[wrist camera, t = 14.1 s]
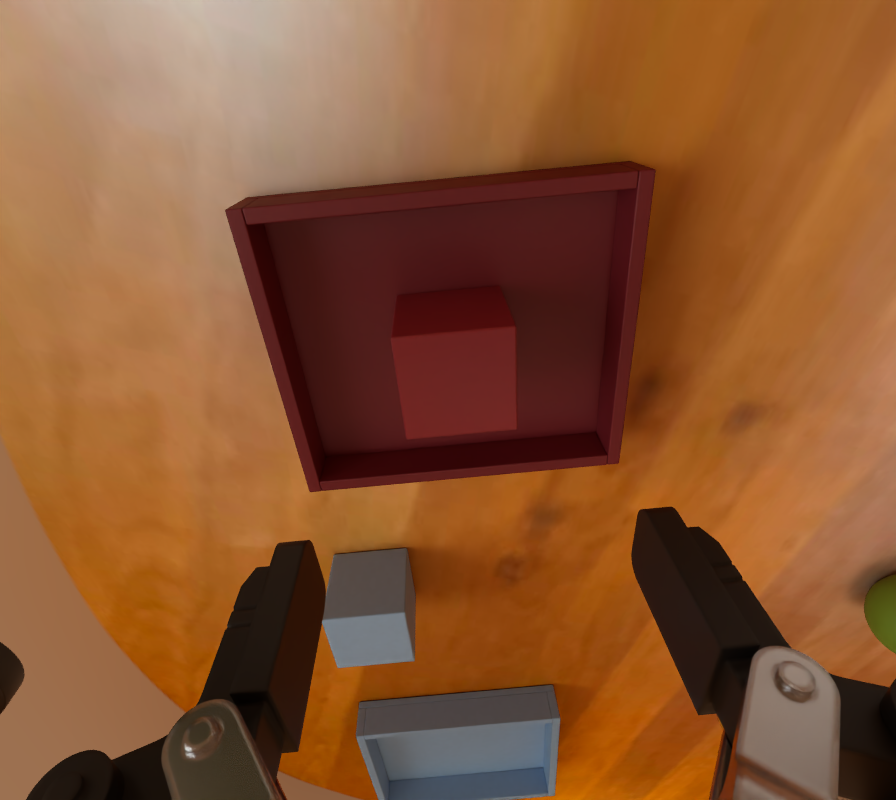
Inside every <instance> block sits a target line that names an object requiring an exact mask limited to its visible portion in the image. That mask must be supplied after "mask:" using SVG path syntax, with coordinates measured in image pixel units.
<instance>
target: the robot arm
mask: <svg viewBox="0 0 896 800" xmlns="http://www.w3.org/2000/svg"><path fill="white" fill-rule="evenodd" d="M632 565H633V570H634V573H635V576H636V579H637V581H638V583H639V586H640V588H641V590H642V592H643V594H644V597H645V599H646V601H647V603H648V605H649V608H650V610H651V612H652V614H653V616H654V619H655V621H656V623H657V625H658V627H659V630H660V632H661V634H662V636H663V638H664V641H665V643H666V645H667V647H668V649H669V652H670V654H671V656H672V658H673V660H674V663H675V665H676V667H677V669H678V671H679V674H680V676H681V678H682V680H683V682H684V685H685V687H686V689H687V691H688V693H689V696H690V698H691V700H692V702H693V704H694V707H695V709H696V711H697V713H698V715H705V714H716V713H717V715H718V718H719V720H720V722H721V724H722V726H723V728H724V730H723V733H722V736H721V741H720V746H719V751H718V756H717V761H716V766H715V771H714V776H713V781H712V786H711V791H710V796H709V800H838V796H839V797H843V798H847V799H850V800H896V679H895V680H894V682H893V683H892V685H891V686H890V688H889V687H885V686H880V685H875V684H870V683H866V682H861V681H856V680H852V679H847V678H842V677H839V676H835V675H832V674H830V673H828V672H827V671H826V670H825V669H824V668H823V667H822V666H821V665H820V664H819V663H817V662H816V661H815V660H813V659H812V658H810V657H809V656H807V655H805V654H803V653H801V652H799V651H797V650H794V649H792V648H791V647H790V646H789V645H788V643H787V642H786V641H785V639H784V638H783V636H782V635H781V633H780V632H779V630H778V629H777V628H776V626H775V625H774V623H773V622H772V620H771V619H770V617H769V616H768V614H767V613H766V611H765V610H764V608H763V607H762V605H761V604H760V602H759V601H758V600H757V598H756V597H755V595H754V594H753V592H752V591H751V589H750V588H749V586H748V585H747V583H746V582H745V581H743V580H742V576H741V574H740V573H739V572H738V570H737V569H736V567H735V566H734V565H732V561H731V560H730V558H729V557H728V555H727V554H726V552H725V551H724V549H723V548H722V546H721V545H720V543H719V542H718V541H716V540H715V539H714V538H713V537H711V536H710V535H709V534H708V533H706V532H705V531H704V530H703V529H701V528H700V527H689V528H687V526H686V525H685V523H684V522H683V520H682V518H681V517H680V515H679V514H678V512H677V511H676V510H675V508H673V507H662V508H652V509H641V510H639V512H638V515H637V521H636V528H635V534H634V540H633V546H632ZM325 601H326V590H325V582H324V578H323V575H322V572H321V569H320V566H319V562H318V559H317V556H316V553H315V550H314V546H313V544H312V542H311V541H310V540H304V541H294V542H283V543H278V544H277V546H276V548H275V551H274V554H273V557H272V560H271V563H270V566H268V567H257V568H256V569H255V570H254V571H253V573H252V574H251V575H250V576H249V577H248V579H247V580H246V581H245V582H244V584H243V585H242V586H241V588H240V591H239V594H238V597H237V599H236V602H235V605H234V611H233V612H232V613H231V616H230V619H229V621H228V624H227V626H228V627H227V629H226V630H225V632H224V635H223V638H222V641H221V643H220V646H219V649H218V652H217V654H216V657H215V660H214V662H213V665H212V668H211V671H210V673H209V676H208V679H207V682H206V684H205V687H204V690H203V693H202V695H201V697H200V700H199V702H198V703H197V705H196V706H195V707H194V708H192V709H191V710H189V711H188V712H187V713H185V714H184V715H183V716H182V717H181V718H180V719H179V720H178V721H177V723H176V724H175V725H174V726H173V728H172V729H171V731H170V732H169V734H168V735H166V736H165V737H163V738H161V739H159V740H157V741H155V742H153V743H151V744H148V745H146V746H144V747H141V748H139V749H136V750H134V751H132V752H129V753H127V754H125V755H122V756H120V757H118V758H116V759H113V760H111V759H110V758H109V757H108V756H107V755H106V754H105V753H103V752H101V751H97V750H87V751H83V752H79V753H77V754H74V755H72V756H70V757H68V758H66V759H64V760H63V761H61V762H60V763H59V764H57V765H56V766H55V767H53V768H52V769H51V770H50V771H49V772H48V773H46V774H45V775H44V776H43V778H41V780H40V781H39V782H38V783H37V784H36V785H35V787H34V788H33V790H32V791H31V792H30V794H29V796H28V797H27V799H26V800H287V798H286V796H285V794H284V792H283V790H282V788H281V785H280V783H279V781H278V779H277V772H278V768H279V763H280V758H281V753H289V752H298V750H299V744H300V739H301V733H302V728H303V723H304V717H305V712H306V706H307V701H308V696H309V690H310V685H311V679H312V674H313V669H314V663H315V658H316V652H317V647H318V642H319V636H320V631H321V625H322V620H323V615H324V609H325Z"/></svg>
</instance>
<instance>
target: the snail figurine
mask: <svg viewBox="0 0 896 800" xmlns="http://www.w3.org/2000/svg"><path fill="white" fill-rule="evenodd" d="M864 612H865V617H866V620H867V623H868V625H869V627H870V629H871V630H872V632H873V633H874V635H875V636H876V637H877V639H878V640H879V641H880V642H881V643H882V644H883V645H884V646H886V647H887V648H888V649H889V650H891V651H892V652H894V653H895V654H896V574H895V575H891V576H888V577H885V578H883V579H881V580H879V581H878V582H876V583H875V584H874V585H873V586H872V587H871V588H870V590H869V591H868V593H867V595H866V598H865V602H864Z"/></svg>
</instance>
